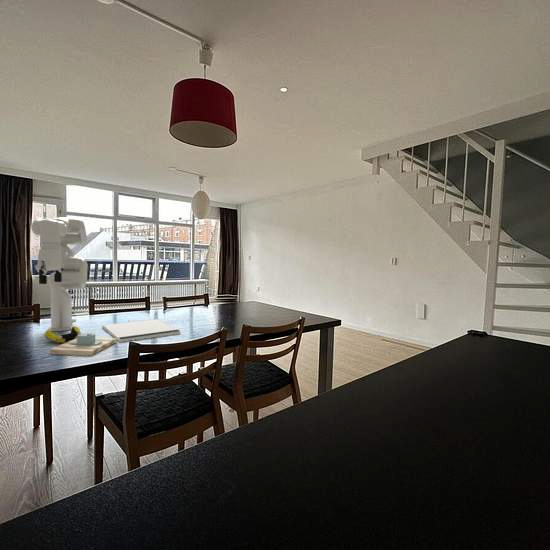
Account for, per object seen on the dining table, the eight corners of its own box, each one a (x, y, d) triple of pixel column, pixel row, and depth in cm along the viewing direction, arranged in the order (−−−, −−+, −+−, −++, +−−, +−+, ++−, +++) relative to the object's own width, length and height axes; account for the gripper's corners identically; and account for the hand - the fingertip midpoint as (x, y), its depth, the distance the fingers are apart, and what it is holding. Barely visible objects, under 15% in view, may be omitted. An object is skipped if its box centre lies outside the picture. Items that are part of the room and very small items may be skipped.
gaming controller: (43, 341, 152) (53, 345, 146) (43, 330, 151) (52, 334, 146) (76, 335, 164) (86, 339, 159) (76, 325, 164) (86, 328, 159)
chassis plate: (80, 340, 155) (80, 336, 155) (116, 342, 154) (116, 338, 154) (50, 353, 135) (49, 349, 135) (91, 355, 134) (91, 351, 134)
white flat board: (180, 330, 175) (119, 338, 155) (180, 334, 175) (119, 343, 155) (156, 319, 201) (102, 324, 181) (156, 322, 202) (102, 329, 181)
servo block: (75, 346, 146) (75, 331, 146) (101, 347, 146) (101, 332, 146) (70, 348, 142) (70, 333, 142) (96, 349, 142) (96, 334, 142)
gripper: (55, 246, 158) (56, 281, 159) (27, 245, 140) (28, 284, 142) (70, 247, 158) (70, 281, 159) (44, 246, 140) (44, 284, 141)
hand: (50, 282), depth 150 cm, fingers open, 9 cm apart
